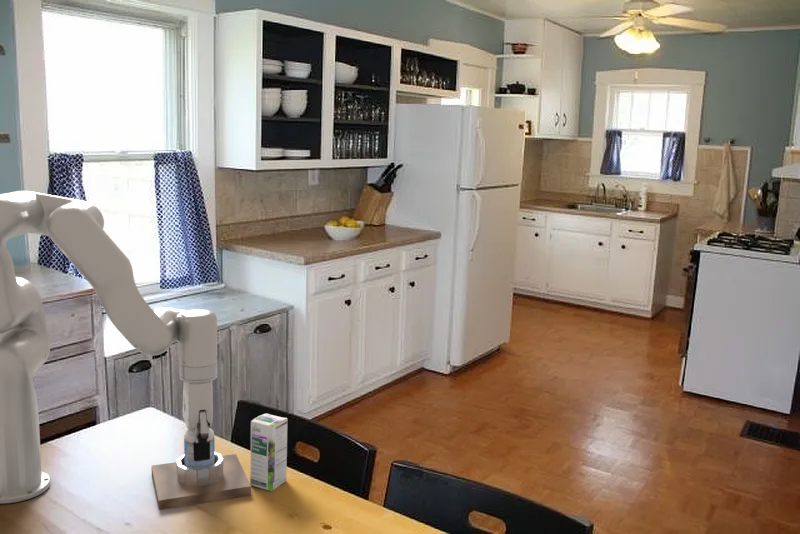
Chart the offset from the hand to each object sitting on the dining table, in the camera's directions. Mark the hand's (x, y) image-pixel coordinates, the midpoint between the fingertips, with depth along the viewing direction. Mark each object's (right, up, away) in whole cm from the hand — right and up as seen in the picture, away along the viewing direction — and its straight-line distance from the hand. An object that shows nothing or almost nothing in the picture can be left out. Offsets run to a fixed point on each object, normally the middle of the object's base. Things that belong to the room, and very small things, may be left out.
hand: (199, 452), depth 151 cm
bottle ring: (0, -5, +1) cm, 5 cm away
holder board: (0, -7, +1) cm, 7 cm away
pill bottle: (0, -4, +1) cm, 4 cm away
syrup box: (+14, -8, +3) cm, 16 cm away
